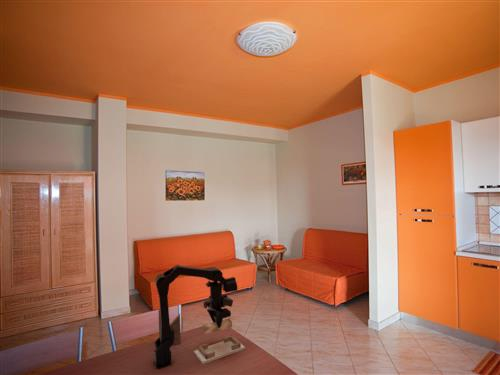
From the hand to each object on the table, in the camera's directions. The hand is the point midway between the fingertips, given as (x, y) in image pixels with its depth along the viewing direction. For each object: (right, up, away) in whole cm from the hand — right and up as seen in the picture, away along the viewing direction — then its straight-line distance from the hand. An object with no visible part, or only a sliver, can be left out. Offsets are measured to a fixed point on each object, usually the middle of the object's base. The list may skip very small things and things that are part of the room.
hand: (217, 326), depth 143 cm
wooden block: (-25, -13, +8) cm, 29 cm away
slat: (0, -2, 0) cm, 2 cm away
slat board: (+1, -11, -1) cm, 12 cm away
